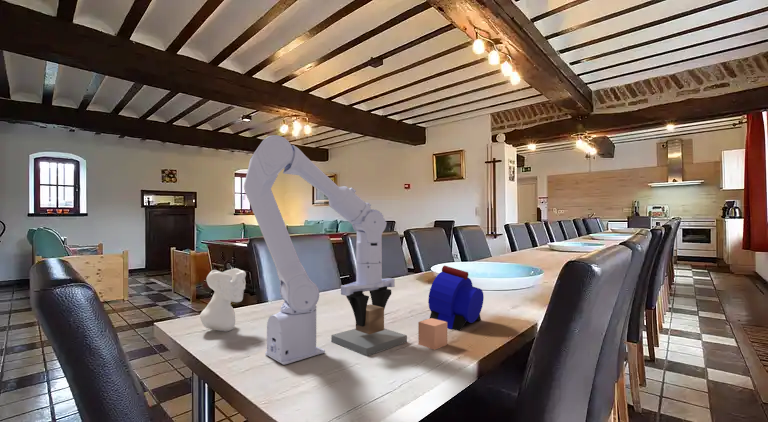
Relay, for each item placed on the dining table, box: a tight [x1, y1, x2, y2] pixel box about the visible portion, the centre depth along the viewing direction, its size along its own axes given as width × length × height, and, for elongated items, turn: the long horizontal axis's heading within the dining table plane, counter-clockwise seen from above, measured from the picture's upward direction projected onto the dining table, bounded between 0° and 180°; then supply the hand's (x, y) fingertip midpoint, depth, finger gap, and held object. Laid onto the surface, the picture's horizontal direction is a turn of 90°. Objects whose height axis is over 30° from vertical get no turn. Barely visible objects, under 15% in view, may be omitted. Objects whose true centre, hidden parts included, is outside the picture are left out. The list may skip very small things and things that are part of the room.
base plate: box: [330, 327, 408, 357], centre depth 82 cm, size 12×12×2 cm
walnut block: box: [355, 303, 385, 334], centre depth 82 cm, size 4×4×5 cm
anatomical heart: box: [199, 267, 247, 332], centre depth 90 cm, size 10×11×15 cm
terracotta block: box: [417, 317, 448, 351], centre depth 80 cm, size 4×4×5 cm
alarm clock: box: [427, 265, 484, 331], centre depth 97 cm, size 12×12×15 cm
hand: (369, 323), depth 82 cm, fingers closed on walnut block, 4 cm apart
